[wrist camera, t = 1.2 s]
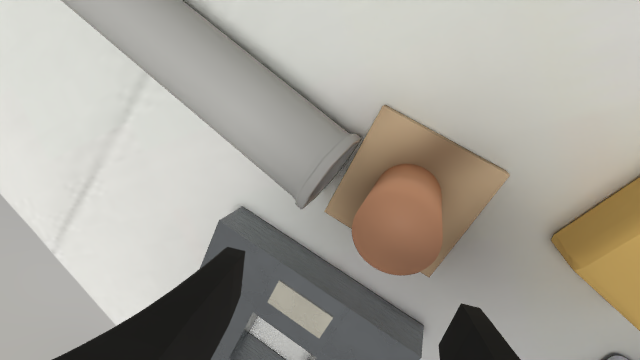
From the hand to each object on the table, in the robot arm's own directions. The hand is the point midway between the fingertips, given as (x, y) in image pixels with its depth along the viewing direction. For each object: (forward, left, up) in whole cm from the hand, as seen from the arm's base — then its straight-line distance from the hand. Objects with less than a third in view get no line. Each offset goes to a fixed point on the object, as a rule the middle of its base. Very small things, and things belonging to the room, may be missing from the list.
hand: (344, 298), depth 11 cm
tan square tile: (-1, -1, -12) cm, 12 cm away
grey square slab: (+1, +15, -12) cm, 19 cm away
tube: (+16, -4, -9) cm, 19 cm away
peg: (-1, -1, -11) cm, 11 cm away
